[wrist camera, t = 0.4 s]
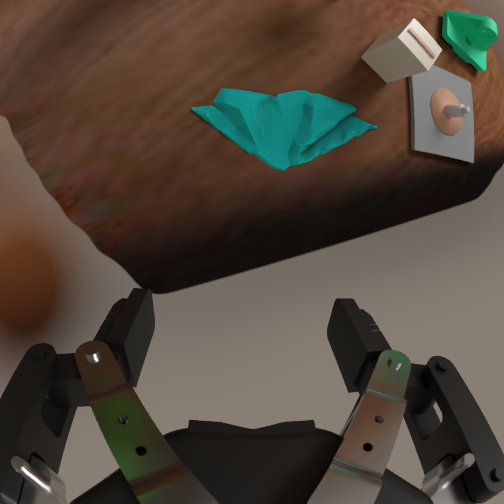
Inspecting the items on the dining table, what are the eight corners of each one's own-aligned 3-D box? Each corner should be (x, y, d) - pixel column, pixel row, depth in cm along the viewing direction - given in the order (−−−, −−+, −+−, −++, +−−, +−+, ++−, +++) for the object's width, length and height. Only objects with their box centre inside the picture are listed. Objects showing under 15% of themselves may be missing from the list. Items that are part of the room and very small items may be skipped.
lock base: (406, 57, 32) (429, 48, 26) (466, 82, 34) (489, 80, 28) (410, 149, 37) (436, 151, 31) (470, 162, 39) (493, 166, 33)
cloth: (178, 149, 34) (175, 148, 32) (204, 53, 30) (204, 47, 28) (358, 195, 39) (366, 197, 37) (379, 109, 35) (387, 108, 33)
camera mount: (438, 38, 31) (475, 26, 21) (439, 13, 29) (473, 0, 19) (477, 73, 33) (513, 69, 24) (478, 48, 31) (511, 41, 22)
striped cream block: (360, 57, 32) (399, 36, 22) (377, 38, 31) (415, 17, 21) (386, 83, 33) (429, 70, 24) (401, 63, 32) (443, 49, 23)
